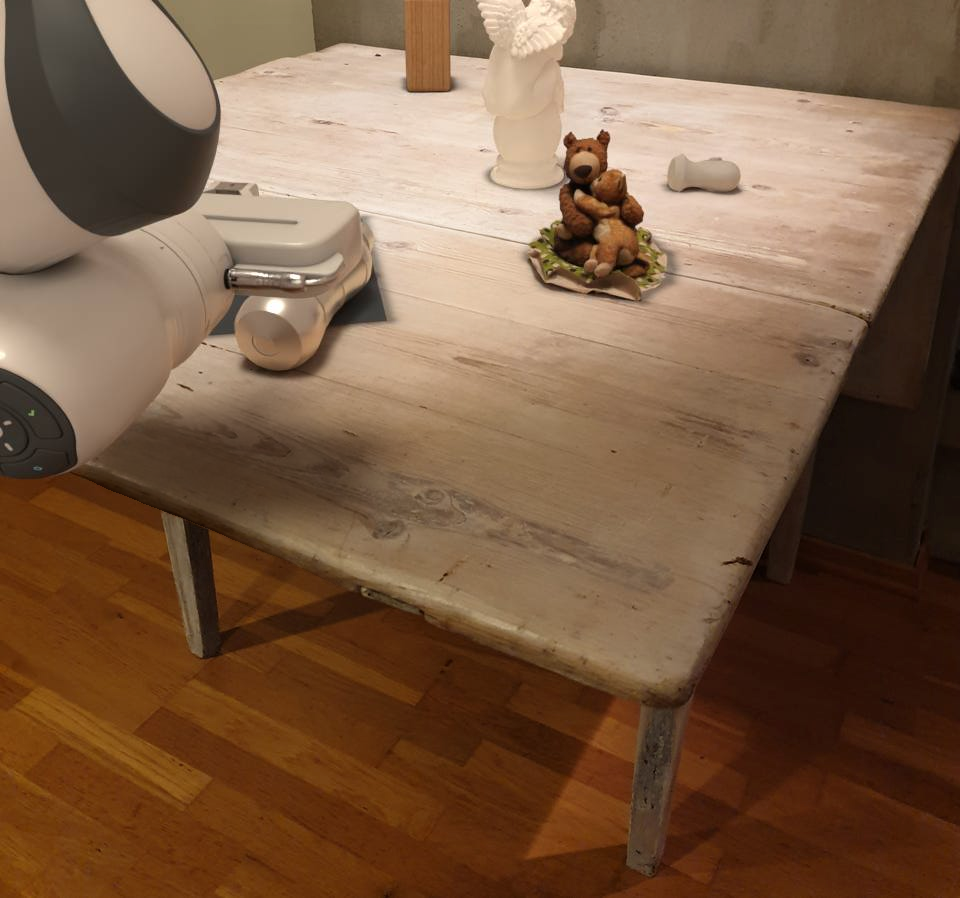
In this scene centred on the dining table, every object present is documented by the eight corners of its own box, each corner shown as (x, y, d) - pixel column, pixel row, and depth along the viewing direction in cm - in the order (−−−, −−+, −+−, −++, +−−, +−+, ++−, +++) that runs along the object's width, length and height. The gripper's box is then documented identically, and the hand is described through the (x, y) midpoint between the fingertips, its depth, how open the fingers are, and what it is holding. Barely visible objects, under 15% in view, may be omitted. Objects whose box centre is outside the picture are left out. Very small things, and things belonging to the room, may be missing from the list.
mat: (169, 344, 80) (168, 338, 79) (186, 234, 99) (185, 229, 99) (387, 325, 82) (387, 320, 82) (362, 222, 102) (361, 218, 102)
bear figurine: (514, 297, 87) (518, 163, 80) (537, 234, 99) (541, 113, 92) (668, 310, 85) (685, 173, 78) (671, 244, 97) (686, 121, 90)
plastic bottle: (235, 379, 76) (327, 269, 91) (315, 383, 74) (395, 270, 90) (214, 305, 72) (314, 204, 88) (298, 307, 70) (384, 203, 86)
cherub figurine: (553, 163, 118) (562, -37, 106) (601, 196, 109) (618, -19, 96) (460, 175, 114) (459, -30, 102) (502, 211, 105) (506, -11, 92)
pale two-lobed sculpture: (733, 196, 112) (740, 198, 107) (663, 191, 113) (667, 193, 108) (738, 157, 111) (745, 157, 106) (668, 153, 112) (672, 152, 107)
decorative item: (449, 81, 151) (447, -63, 140) (450, 92, 145) (449, -57, 134) (406, 81, 150) (401, -63, 139) (406, 92, 145) (401, -57, 134)
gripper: (324, 235, 51) (385, 154, 62) (-31, 212, 54) (89, 139, 65) (334, 340, 55) (390, 246, 66) (0, 315, 57) (109, 228, 69)
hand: (238, 193), depth 66 cm, fingers closed
